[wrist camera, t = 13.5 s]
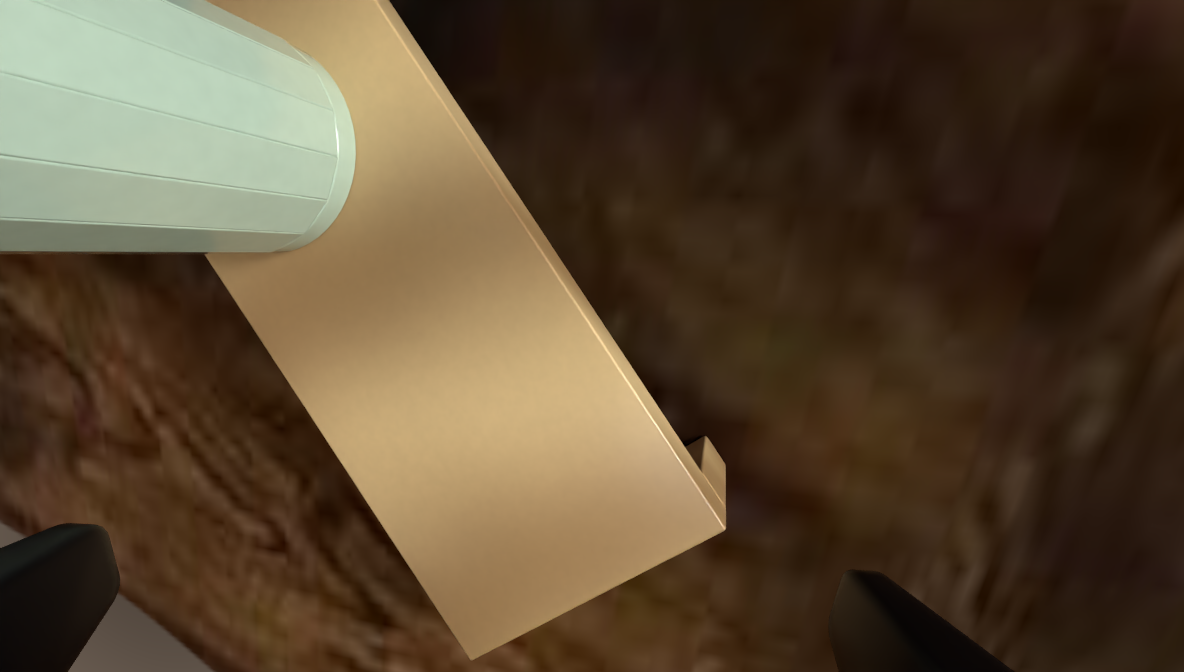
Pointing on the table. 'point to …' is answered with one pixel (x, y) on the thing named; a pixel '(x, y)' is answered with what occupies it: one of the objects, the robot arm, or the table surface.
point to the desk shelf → (464, 357)
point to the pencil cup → (163, 132)
